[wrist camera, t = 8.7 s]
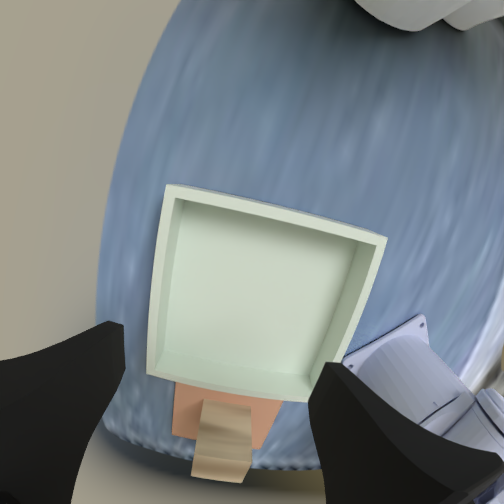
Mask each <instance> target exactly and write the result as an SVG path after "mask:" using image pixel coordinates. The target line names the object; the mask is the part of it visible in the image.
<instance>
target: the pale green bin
mask: <svg viewBox="0 0 504 504" xmlns="http://www.w3.org/2000/svg"><path fill="white" fill-rule="evenodd" d="M387 239H388V238H387V237H384V236H382V235H380V234H377V233H375V232H373V231H370V230H368V229H365V228H362V227H358V226H355V225H351V224H348V223H344V222H341V221H337V220H333V219H330V218H326V217H322V216H319V215H315V214H311V213H307V212H303V211H299V210H296V209H292V208H288V207H284V206H279V205H275V204H271V203H267V202H263V201H258V200H254V199H250V198H245V197H241V196H236V195H232V194H227V193H222V192H218V191H213V190H208V189H203V188H198V187H193V186H188V185H183V184H166V189H165V195H164V200H163V205H162V211H161V217H160V223H159V229H158V236H157V243H156V250H155V258H154V266H153V275H152V284H151V294H150V306H149V319H148V337H147V366H146V374H149V375H153V376H156V377H160V378H163V379H167V380H171V381H175V382H179V383H183V384H187V385H191V386H196V387H200V388H205V389H210V390H215V391H220V392H226V393H231V394H237V395H244V396H251V397H258V398H266V399H274V400H284V401H295V402H308V399H309V397H310V395H311V393H312V391H313V389H314V387H315V384H316V382H317V380H318V378H319V376H320V373H321V371H322V369H323V367H324V364H325V362H337V363H341V360H342V358H343V356H344V354H345V352H346V350H347V348H348V345H349V343H350V341H351V339H352V336H353V334H354V332H355V329H356V327H357V324H358V322H359V320H360V317H361V315H362V312H363V310H364V307H365V304H366V302H367V299H368V296H369V294H370V291H371V288H372V286H373V283H374V280H375V277H376V274H377V271H378V268H379V265H380V262H381V259H382V256H383V253H384V249H385V246H386V243H387Z"/></svg>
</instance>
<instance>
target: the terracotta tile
mask: <svg viewBox="0 0 504 504" xmlns="http://www.w3.org/2000/svg"><path fill="white" fill-rule="evenodd" d="M204 399H209V400H215V401H220V402H226V403H232V404H239V405H246V406H251V433H252V449H260V448H261V446H262V444H263V442H264V440H265V438H266V436H267V434H268V432H269V430H270V428H271V426H272V424H273V422H274V420H275V418H276V416H277V414H278V411H279V409H280V407H281V405H282V403H283V401H284V400H274V399H266V398H258V397H251V396H244V395H237V394H231V393H226V392H220V391H215V390H210V389H205V388H200V387H196V386H191V385H187V384H183V383H179V382H176V386H175V397H174V409H173V422H172V435H176V436H180V437H184V438H189V439H193V440H197V435H198V429H199V423H200V418H201V412H202V406H203V401H204Z"/></svg>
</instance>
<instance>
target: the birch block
mask: <svg viewBox="0 0 504 504" xmlns="http://www.w3.org/2000/svg"><path fill="white" fill-rule="evenodd" d="M251 463H252V433H251V406H246V405H239V404H232V403H226V402H220V401H215V400H209V399H204V401H203V406H202V412H201V418H200V423H199V429H198V435H197V441H196V447H195V453H194V459H193V466H192V473H191V476H195V477H200V478H206V479H213V480H220V481H229V482H239V483H241V482H242V480H243V479H244V477H245V475H246V473H247V471H248V469H249V467H250V465H251Z"/></svg>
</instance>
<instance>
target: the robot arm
mask: <svg viewBox="0 0 504 504" xmlns="http://www.w3.org/2000/svg"><path fill="white" fill-rule="evenodd" d="M421 323H422V324H421ZM420 324H421V325H420ZM351 364H352V365H351ZM349 365H351V366H349ZM348 366H349V367H348ZM124 371H125V353H124V325H122V324H118V323H115V322H112V321H106V322H104V323H101V324H99V325H97V326H95V327H93V328H91V329H88V330H86V331H84V332H82V333H80V334H78V335H76V336H73V337H71V338H69V339H67V340H65V341H62V342H60V343H57V344H55V345H52V346H50V347H47V348H45V349H42V350H40V351H37V352H34V353H31V354H28V355H25V356H20V357H17V358H13V359H7V360H2V361H0V504H71V499H72V495H73V490H74V486H75V482H76V478H77V475H78V471H79V468H80V465H81V462H82V459H83V456H84V453H85V450H86V448H87V445H88V442H89V440H90V438H91V436H92V434H93V432H94V430H95V428H96V426H97V424H98V423H99V421H100V419H101V417H102V416H103V414H104V412H105V410H106V409H107V407H108V405H109V403H110V401H111V400H112V398H113V396H114V394H115V393H116V391H117V389H118V386H119V384H120V381H121V379H122V376H123V374H124ZM308 408H309V418H310V425H311V429H312V433H313V437H314V441H315V445H316V449H317V452H318V456H319V460H320V464H321V468H322V472H323V477H324V485H325V494H326V504H504V398H503V397H502V396H501V395H500V394H499V393H498V392H497V391H496V390H495V389H493V388H489V389H486V390H485V389H482V390H480V392H479V393H478V394H477V396H476V395H474V394H473V393H472V392H471V391H470V390H469V389H468V388H467V387H466V386H465V384H464V383H463V382H462V381H461V380H460V379H459V378H458V377H457V376H456V375H455V373H454V372H453V371H452V370H451V369H450V368H449V367H448V366H447V365H446V364H445V363H444V362H443V361H442V360H441V359H440V357H439V356H438V355H437V354H436V353H435V352H434V351H433V350H432V349H431V348H430V347H429V340H428V332H427V325H426V318H425V316H424V315H423V314H419V315H417V316H416V317H414V318H413V319H411V320H409V321H408V322H406V323H405V324H403V325H401V326H400V327H398V328H397V329H395V330H393V331H392V332H390V333H388V334H386V335H385V336H383V337H381V338H379V339H378V340H376V341H374V342H372V343H371V344H369V345H367V346H365V347H363V348H361V349H359V350H358V351H356V352H354V353H352V354H350V355H348V356H346V357H344V358H343V360H342V363H337V362H325V364H324V367H323V369H322V371H321V373H320V376H319V378H318V380H317V382H316V384H315V387H314V389H313V391H312V393H311V395H310V397H309V399H308Z"/></svg>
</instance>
